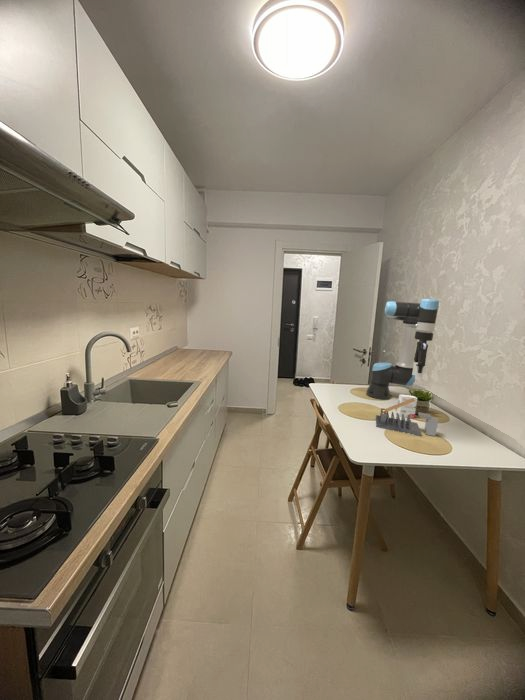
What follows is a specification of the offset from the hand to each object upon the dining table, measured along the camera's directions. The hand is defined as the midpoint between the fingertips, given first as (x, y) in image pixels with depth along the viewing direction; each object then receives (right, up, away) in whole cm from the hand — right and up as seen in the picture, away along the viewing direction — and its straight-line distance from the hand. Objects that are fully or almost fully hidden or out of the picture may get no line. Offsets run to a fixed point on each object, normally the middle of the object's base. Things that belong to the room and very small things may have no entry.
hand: (416, 377), depth 139 cm
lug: (+5, -28, +2) cm, 28 cm away
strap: (-6, -16, +5) cm, 18 cm away
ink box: (+6, -25, +23) cm, 34 cm away
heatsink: (-7, -26, +6) cm, 28 cm away
